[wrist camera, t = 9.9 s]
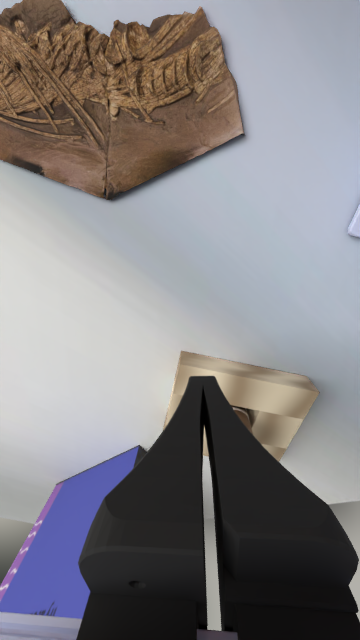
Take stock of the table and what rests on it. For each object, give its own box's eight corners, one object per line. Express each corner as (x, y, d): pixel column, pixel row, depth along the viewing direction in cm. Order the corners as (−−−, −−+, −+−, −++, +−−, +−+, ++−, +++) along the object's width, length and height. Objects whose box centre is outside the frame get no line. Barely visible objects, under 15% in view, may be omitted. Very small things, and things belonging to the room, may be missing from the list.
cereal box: (78, 499, 34) (-137, 987, 12) (57, 483, 33) (-229, 998, 11) (160, 464, 30) (58, 1155, 7) (139, 445, 28) (-62, 1211, 6)
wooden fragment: (262, 19, 13) (268, 1, 12) (230, 212, 17) (233, 211, 16) (-122, -6, 14) (-146, -25, 13) (-63, 184, 18) (-78, 182, 17)
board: (306, 376, 22) (319, 392, 20) (267, 449, 27) (274, 469, 25) (181, 350, 22) (179, 364, 20) (163, 428, 27) (160, 446, 24)
